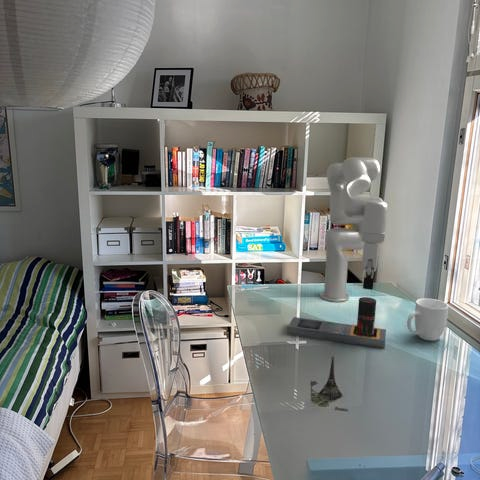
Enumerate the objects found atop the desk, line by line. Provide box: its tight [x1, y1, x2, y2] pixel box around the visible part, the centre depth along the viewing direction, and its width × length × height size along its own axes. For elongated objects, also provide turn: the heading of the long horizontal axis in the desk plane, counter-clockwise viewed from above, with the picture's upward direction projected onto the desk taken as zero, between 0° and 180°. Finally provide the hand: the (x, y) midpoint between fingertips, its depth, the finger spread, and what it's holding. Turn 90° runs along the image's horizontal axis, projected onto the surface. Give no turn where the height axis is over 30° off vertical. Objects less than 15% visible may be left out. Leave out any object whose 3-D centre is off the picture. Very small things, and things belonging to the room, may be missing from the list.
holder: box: [287, 316, 387, 349], centre depth 175 cm, size 10×34×3 cm, turn 72°
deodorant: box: [355, 296, 377, 337], centre depth 171 cm, size 6×6×15 cm
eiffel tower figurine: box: [310, 356, 349, 411], centre depth 135 cm, size 15×10×13 cm
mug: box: [406, 298, 449, 342], centre depth 174 cm, size 15×11×13 cm
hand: (368, 284), depth 169 cm, fingers open, 9 cm apart
